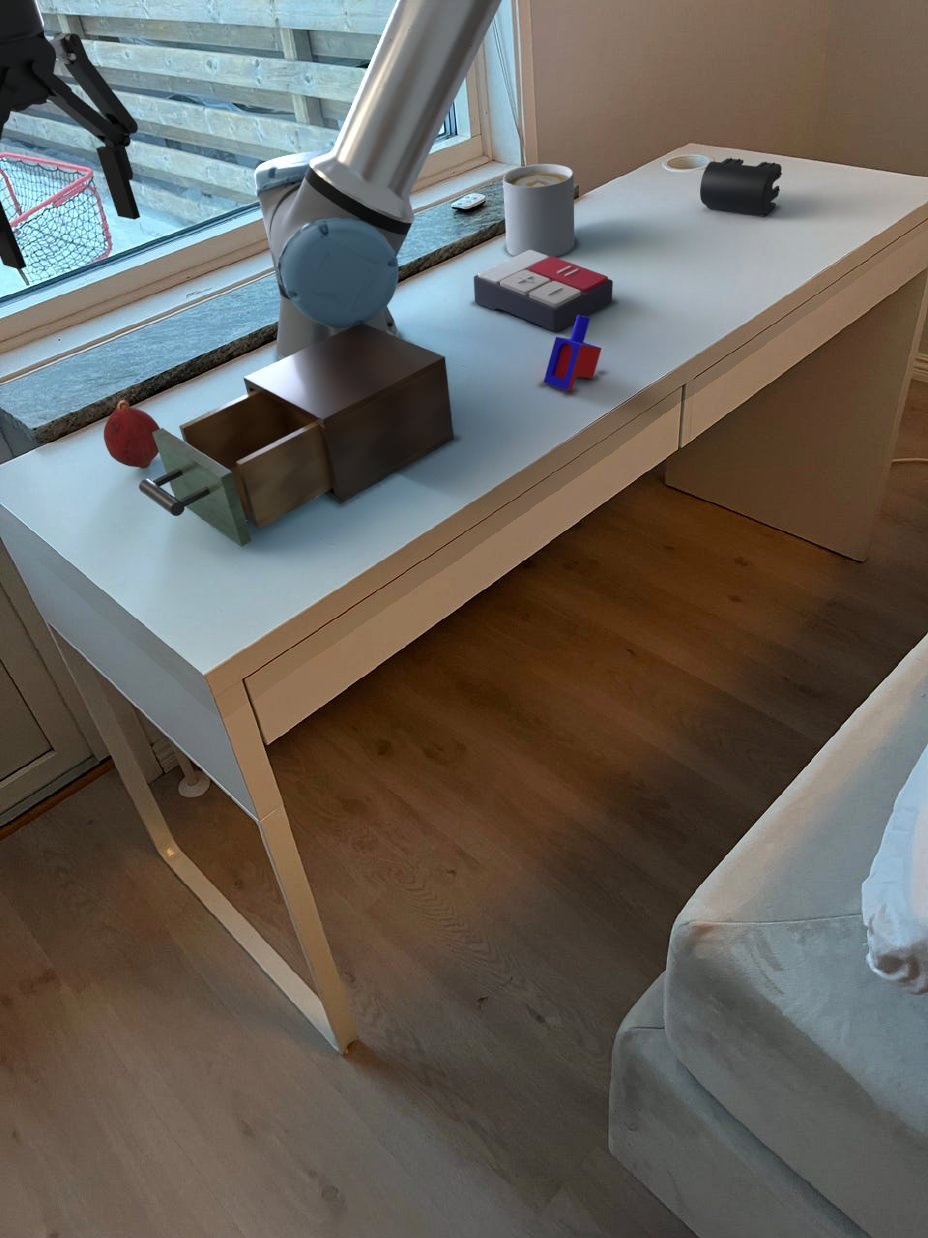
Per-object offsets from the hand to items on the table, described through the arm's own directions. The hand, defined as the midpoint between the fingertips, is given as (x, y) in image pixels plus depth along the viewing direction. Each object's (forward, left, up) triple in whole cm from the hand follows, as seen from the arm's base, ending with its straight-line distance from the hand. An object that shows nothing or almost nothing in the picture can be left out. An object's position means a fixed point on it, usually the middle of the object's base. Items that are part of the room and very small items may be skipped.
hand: (74, 240), depth 94 cm
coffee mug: (-2, +69, -23) cm, 73 cm away
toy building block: (+29, +40, -23) cm, 54 cm away
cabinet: (+21, +14, -23) cm, 34 cm away
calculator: (+12, +53, -23) cm, 59 cm away
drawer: (+21, +1, -22) cm, 30 cm away
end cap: (+14, +94, -23) cm, 98 cm away
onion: (+5, -3, -23) cm, 24 cm away
